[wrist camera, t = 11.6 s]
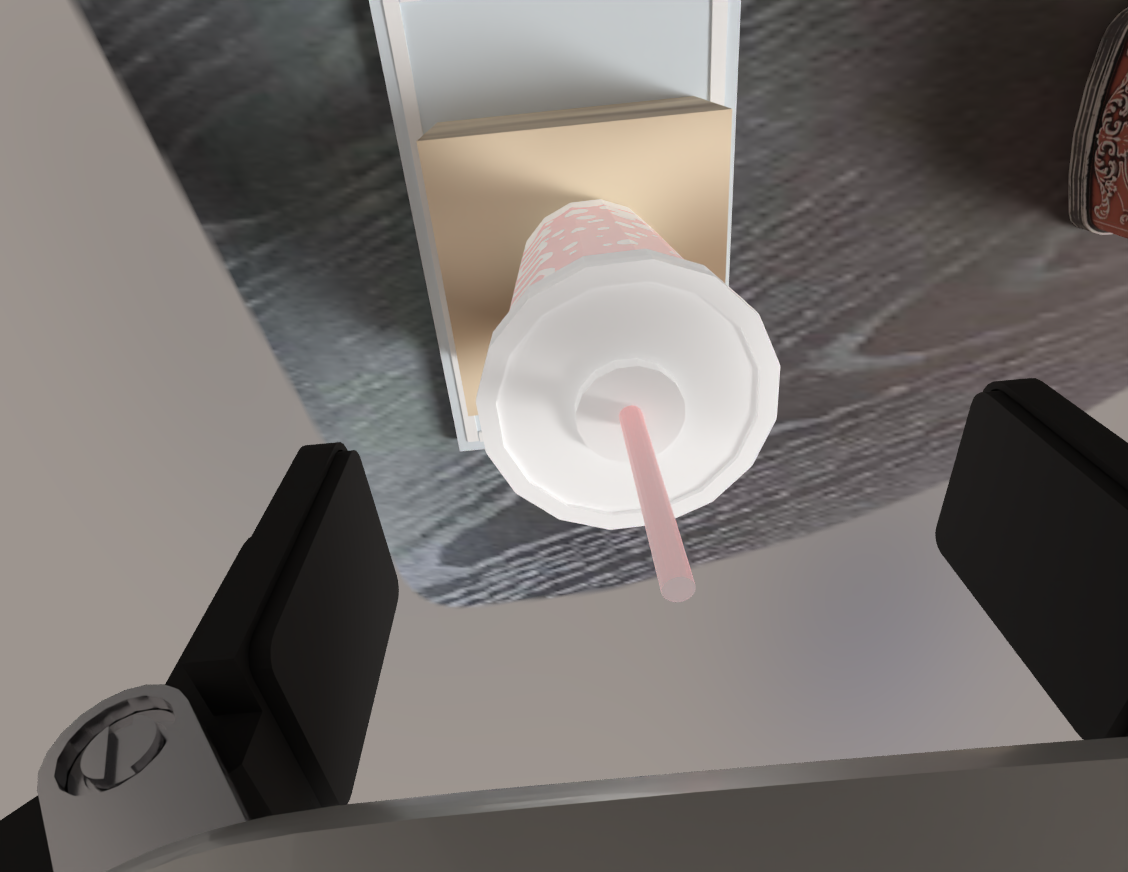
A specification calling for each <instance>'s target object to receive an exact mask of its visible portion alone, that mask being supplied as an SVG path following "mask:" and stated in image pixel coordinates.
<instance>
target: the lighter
mask: <svg viewBox="0 0 1128 872" xmlns="http://www.w3.org/2000/svg"><path fill="white" fill-rule="evenodd" d="M1069 216H1070V220H1071V222H1072V223H1073V224H1074V225H1075V226H1076V227H1079V228H1082V229H1085V230H1088V231H1091V232H1094V233H1097V234H1101V235H1105V234H1116V235H1119V236H1122V237H1125V238H1128V7H1127V8H1126V9H1125V10H1123V11H1122V12H1120V13H1119V14H1118V15H1117V16H1116V18H1115V19H1114V20H1113V21H1112V22H1111V23H1110V24H1109V26H1108V27H1107V29H1106V31H1105V33H1104V35H1103V37H1102V40H1101V42H1100V45H1099V48H1098V51H1097V54H1096V57H1095V60H1094V62H1093V65H1092V68H1091V71H1090V74H1089V77H1088V80H1087V82H1086V85H1085V89H1084V93H1083V97H1082V101H1081V105H1080V109H1079V113H1078V117H1077V121H1076V125H1075V129H1074V133H1073V142H1072V150H1071V159H1070V168H1069Z"/></svg>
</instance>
